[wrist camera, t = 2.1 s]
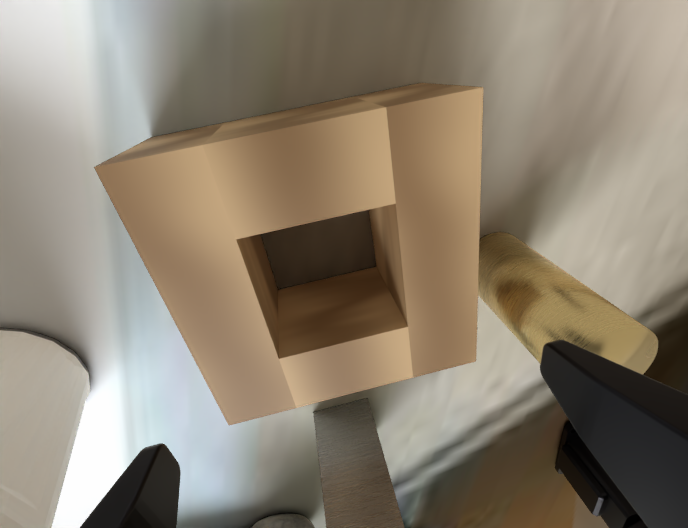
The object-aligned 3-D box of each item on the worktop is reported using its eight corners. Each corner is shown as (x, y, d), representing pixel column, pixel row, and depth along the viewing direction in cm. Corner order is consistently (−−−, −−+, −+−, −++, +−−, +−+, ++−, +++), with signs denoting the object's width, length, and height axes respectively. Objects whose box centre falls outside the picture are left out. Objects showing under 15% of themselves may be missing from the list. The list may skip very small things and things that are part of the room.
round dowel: (524, 225, 19) (670, 316, 12) (519, 280, 20) (643, 387, 14) (461, 240, 18) (572, 341, 12) (461, 294, 20) (558, 410, 13)
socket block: (420, 83, 14) (483, 87, 10) (432, 298, 20) (475, 361, 16) (150, 137, 14) (94, 167, 9) (239, 345, 19) (228, 425, 15)
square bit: (367, 397, 23) (407, 538, 16) (374, 432, 25) (412, 571, 18) (313, 412, 23) (330, 560, 16) (324, 445, 25) (343, 592, 18)
